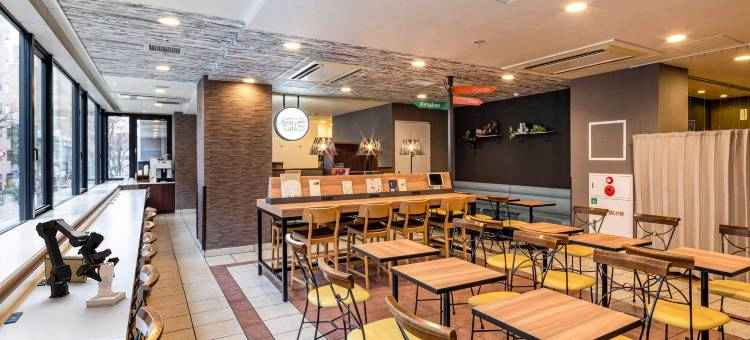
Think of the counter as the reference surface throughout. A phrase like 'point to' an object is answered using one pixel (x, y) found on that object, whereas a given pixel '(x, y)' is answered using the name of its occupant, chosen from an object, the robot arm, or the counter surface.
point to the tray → (106, 299)
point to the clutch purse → (71, 260)
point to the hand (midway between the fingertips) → (107, 279)
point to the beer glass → (105, 278)
